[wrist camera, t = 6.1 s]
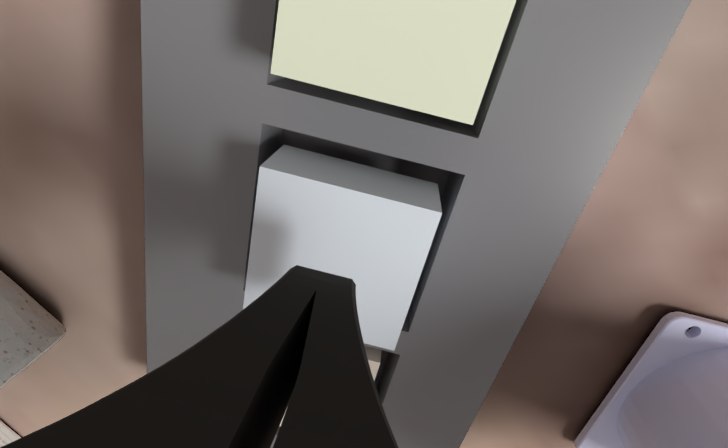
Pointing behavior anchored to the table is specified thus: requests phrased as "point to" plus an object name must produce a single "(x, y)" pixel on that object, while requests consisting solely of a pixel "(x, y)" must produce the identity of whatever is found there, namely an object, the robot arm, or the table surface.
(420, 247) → the key bluegrey
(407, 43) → the key sage
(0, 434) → the supplement box
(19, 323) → the ceramic mug
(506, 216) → the keypad
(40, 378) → the table surface
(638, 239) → the table surface
